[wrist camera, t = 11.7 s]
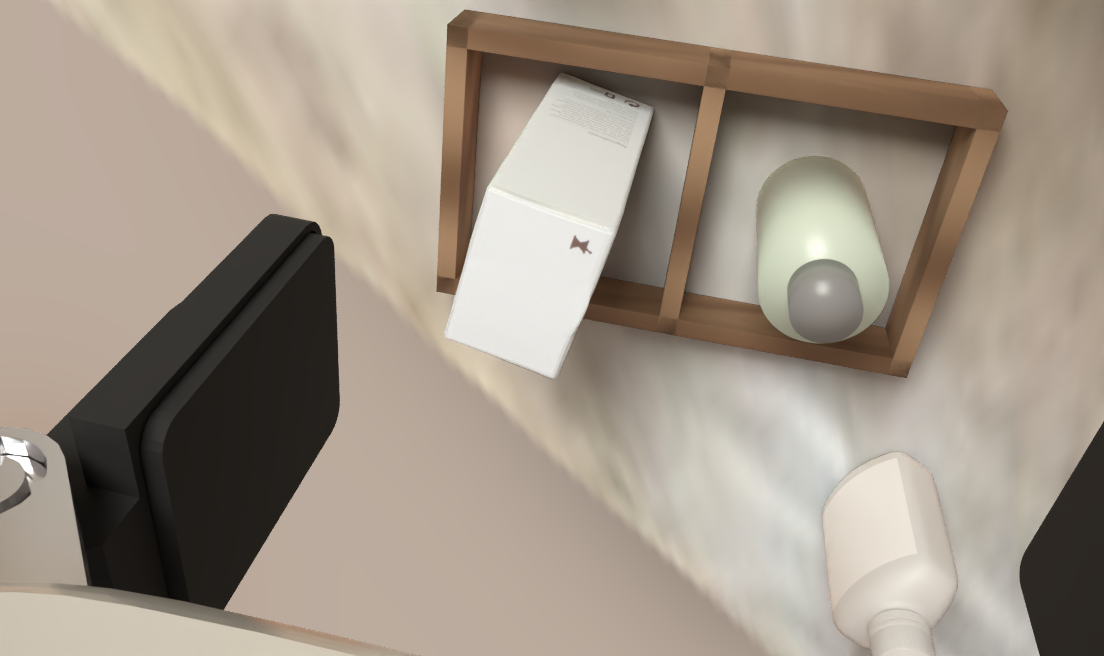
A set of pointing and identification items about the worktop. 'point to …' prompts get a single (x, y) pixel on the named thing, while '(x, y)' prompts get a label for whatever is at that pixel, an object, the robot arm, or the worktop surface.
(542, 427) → the worktop surface
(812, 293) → the sage bottle
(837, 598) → the eye dropper bottle
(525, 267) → the skincare box
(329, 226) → the worktop surface
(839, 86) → the wooden frame
